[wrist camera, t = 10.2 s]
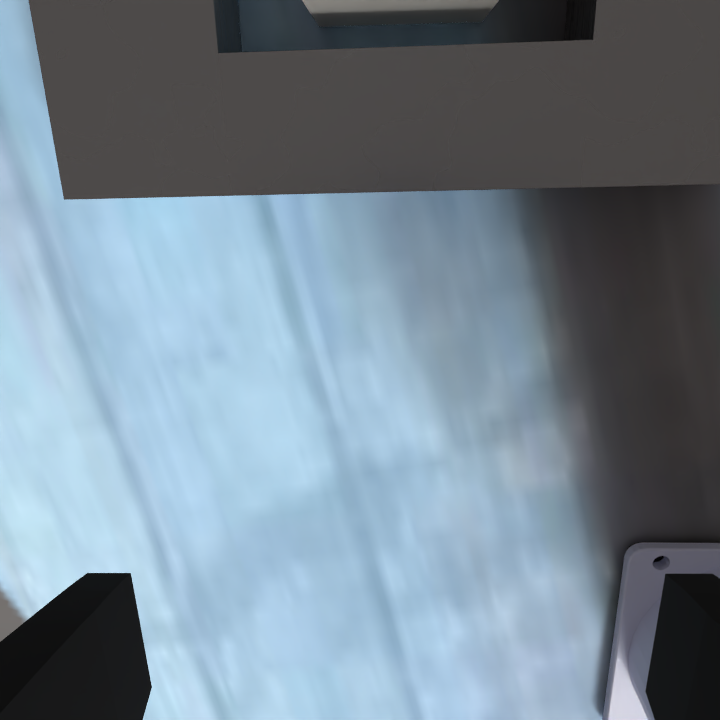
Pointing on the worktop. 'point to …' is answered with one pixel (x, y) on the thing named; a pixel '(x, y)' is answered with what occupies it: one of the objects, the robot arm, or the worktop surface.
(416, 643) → the worktop surface
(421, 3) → the plug
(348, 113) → the socket plate
